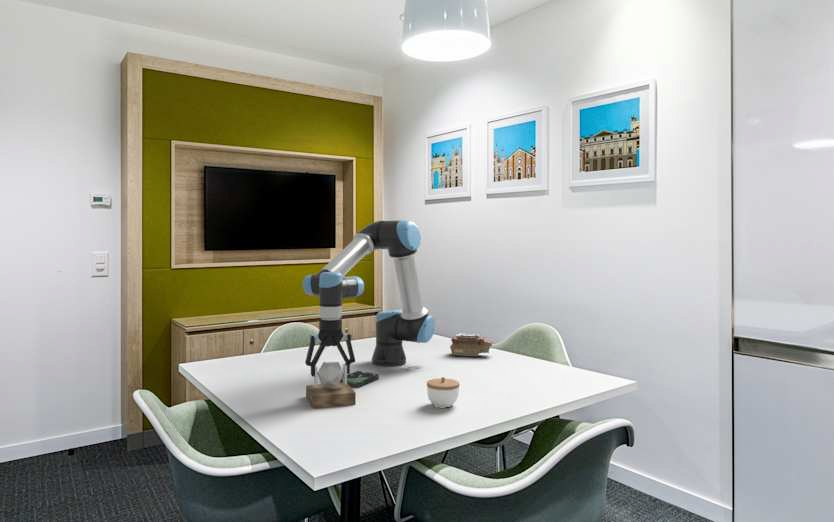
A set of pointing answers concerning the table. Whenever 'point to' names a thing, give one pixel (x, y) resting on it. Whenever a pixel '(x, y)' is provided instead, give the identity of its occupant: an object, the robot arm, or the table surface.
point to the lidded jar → (442, 391)
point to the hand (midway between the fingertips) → (330, 384)
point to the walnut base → (330, 395)
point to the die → (330, 374)
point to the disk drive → (360, 379)
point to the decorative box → (470, 345)
